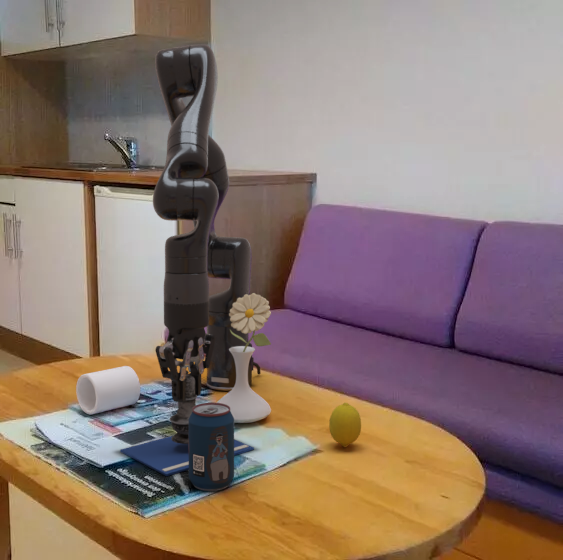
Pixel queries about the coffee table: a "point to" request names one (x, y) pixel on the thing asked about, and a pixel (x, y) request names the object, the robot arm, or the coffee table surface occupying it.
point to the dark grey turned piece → (184, 412)
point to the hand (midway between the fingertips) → (186, 397)
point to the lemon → (345, 424)
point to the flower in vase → (247, 359)
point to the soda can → (211, 446)
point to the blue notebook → (169, 455)
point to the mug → (107, 389)
